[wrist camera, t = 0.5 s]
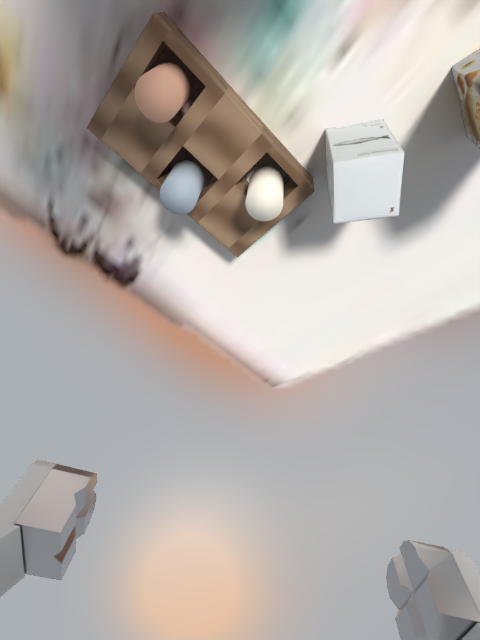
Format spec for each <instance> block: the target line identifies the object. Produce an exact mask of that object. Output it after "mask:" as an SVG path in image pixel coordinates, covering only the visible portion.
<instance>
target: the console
mask: <svg viewBox="0 0 480 640" xmlns="http://www.w3.org/2000/svg"><path fill="white" fill-rule="evenodd" d="M167 45H168V47H169V48H170V49H171V50H172V51H173V52H174V53H175V54H176V55H177V56H178V57H179V58H180V59H181V60H182V62H183V63H184V64H185V65H186V66H187V67H188V68H189V69H190V70H191V71H192V72H193V73H194V74H195V75H196V77H197V78H198V79H199V80H200V81H201V82H202V83H203V84H204V85H205V86H206V87H205V88H204V90H203V91H202V92H201V94H200V95H199V96H198V98H197V99H196V100H195V102H194V103H193V104H192V106H191V107H190V108H189V110H188V111H187V112H186V114H185V115H184V116H183V117H182V116H181V115H180V114H179V113H178V112H177V113H176V114H175V116H174V117H173V118H172V119H171V120H169V121H167V122H164V123H157V122H154V121H151V120H149V119H148V118H146V117H145V116H144V115H143V114H142V112H141V111H140V110H139V108H138V106H137V103H136V100H135V85H136V83H137V81H138V79H139V78H140V77H141V76H142V75H143V74H145V73H146V72H148V71H150V70H151V69H152V68H153V66H154V65H155V63H156V62H157V60H158V59H159V57H160V55H161V54H162V52H163V51H164V49H165V48H166V46H167ZM87 129H89V130H90V131H91V132H92V133H93V134H94V135H96V136H97V137H98V138H99V139H100V140H101V141H103V142H104V143H105V144H106V145H107V146H108V147H110V148H111V149H112V150H113V151H114V152H115V153H117V154H118V155H119V156H120V157H121V158H122V159H124V160H125V161H126V162H127V163H128V164H129V165H131V166H132V167H133V168H134V169H135V170H136V171H138V172H139V173H140V174H141V175H142V176H143V177H145V178H146V179H147V180H148V181H149V182H150V183H152V184H153V185H154V186H155V187H156V188H157V189H159V190H160V188H161V186H162V184H163V183H164V181H165V180H166V178H167V176H168V175H169V173H170V171H169V170H168V169H167V168H166V167H167V165H168V164H169V163H170V162H171V160H172V159H173V158H174V157H175V155H176V154H177V153H178V152H179V150H180V149H181V148H182V147H183V146H184V147H185V148H186V149H187V150H188V151H189V152H190V153H191V154H192V155H193V156H194V157H195V158H196V159H197V160H198V161H199V162H200V163H201V164H202V165H204V166H205V167H206V168H207V169H208V170H209V171H210V172H211V173H212V174H213V175H214V178H213V179H212V180H211V181H210V182H209V183H208V184H207V185H206V186H205V187H204V188H203V190H202V191H201V193H200V196H199V198H198V200H197V203H196V205H195V207H194V209H193V210H192V211H191V212H189V213H187V214H188V215H189V216H190V217H191V218H192V219H194V220H195V221H196V222H197V223H198V224H199V225H201V226H202V227H203V228H204V229H205V230H206V231H208V232H209V233H210V234H211V235H212V236H213V237H215V238H216V239H217V240H218V241H219V242H220V243H222V244H223V245H224V246H225V247H226V248H227V249H229V250H230V251H231V252H232V253H233V254H234V255H236V256H237V257H238V256H239V255H240V254H242V253H243V252H244V251H245V250H246V249H247V248H249V247H250V246H251V245H252V244H253V243H254V242H256V241H257V240H258V239H259V238H260V237H261V236H263V235H264V234H265V233H266V232H267V231H268V230H270V229H271V228H272V227H273V226H274V225H276V224H277V223H278V222H279V221H280V220H281V219H283V218H284V217H285V216H286V215H287V214H288V213H290V212H291V211H292V210H293V209H294V208H295V207H297V206H298V205H299V204H300V203H301V202H302V201H304V200H305V199H306V198H307V197H308V196H309V195H311V194H312V193H313V192H314V185H313V178H312V177H311V176H310V175H309V173H308V172H307V171H306V170H305V169H304V168H303V167H302V166H301V165H300V163H299V162H298V161H297V160H296V159H295V158H294V157H293V156H292V154H291V153H290V152H289V151H288V150H287V149H286V148H285V147H284V146H283V144H282V143H281V142H280V141H279V140H278V139H277V138H276V137H275V136H274V134H273V133H272V132H271V131H270V130H269V129H268V128H267V127H266V126H265V124H264V123H263V122H262V121H261V120H260V119H259V118H258V117H257V116H256V114H255V113H254V112H253V111H252V110H251V109H250V108H249V107H248V106H247V104H246V103H245V102H244V101H243V100H242V99H241V98H240V97H239V95H238V94H237V93H236V92H235V91H234V90H233V89H232V88H231V87H230V85H229V84H228V83H227V82H226V81H225V80H224V79H223V78H222V77H221V75H220V74H219V73H218V72H217V71H216V70H215V69H214V68H213V67H212V65H211V64H210V63H209V62H208V61H207V60H206V59H205V58H204V57H203V55H202V54H201V53H200V52H199V51H198V50H197V49H196V48H195V46H194V45H193V44H192V43H191V42H190V41H189V40H188V39H187V38H186V36H185V35H184V34H183V33H182V32H181V31H180V30H179V29H178V28H177V26H176V25H175V24H174V23H173V22H172V21H171V20H170V19H169V18H168V16H167V15H166V14H165V13H164V12H163V13H158V14H154V15H152V17H151V19H150V20H149V22H148V24H147V25H146V27H145V29H144V31H143V32H142V34H141V36H140V37H139V39H138V41H137V43H136V44H135V46H134V48H133V49H132V51H131V53H130V55H129V56H128V58H127V60H126V61H125V63H124V65H123V67H122V68H121V70H120V72H119V73H118V75H117V77H116V79H115V80H114V82H113V84H112V85H111V87H110V89H109V91H108V92H107V94H106V96H105V97H104V99H103V101H102V103H101V104H100V106H99V108H98V109H97V111H96V113H95V115H94V116H93V118H92V120H91V121H90V123H89V125H88V127H87ZM266 153H268V154H269V155H270V156H271V157H272V158H273V159H274V160H275V161H276V162H277V163H278V164H279V166H280V167H281V168H282V169H283V170H284V171H285V172H286V173H287V174H288V175H289V176H290V177H291V178H292V179H291V180H290V181H289V182H287V183H286V184H285V185H284V192H283V208H282V211H281V213H280V214H279V215H278V216H277V217H276V218H274V219H273V220H270V221H259V220H256V219H254V218H253V217H251V216H250V215H249V213H248V212H247V209H246V205H245V201H246V196H247V191H248V186H249V183H248V182H247V181H246V180H245V179H244V178H243V176H244V175H245V174H246V173H247V172H248V171H249V170H250V169H251V168H252V167H253V166H254V165H255V164H256V163H257V162H258V161H259V160H260V159H261V158H262V157H263V156H264V155H265V154H266Z"/></svg>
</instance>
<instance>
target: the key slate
mask: <svg viewBox="0 0 480 640" xmlns="http://www.w3.org/2000/svg"><path fill="white" fill-rule="evenodd" d="M204 183H205V176H204V173H203V171H202V169H201V168H200V167H199V166H198V165H197V164H196V163H194V162H192V161H187V160H184V161H180V162H178V163H177V164H175V166H174V167H173V168H172V170H171V172H170V173H169V175H168V176H167V178H166V180H165V181H164V183H163V184H162V186H161V188H160V199H161V202H162V204H163V205H164V206H165V207H166V208H167V209H168V210H169V211H171V212H173V213H175V214H187V213H189V212H191V211H192V210H193V209H194V207H195V205H196V203H197V200H198V198H199V196H200V193H201V191H202V189H203V186H204Z"/></svg>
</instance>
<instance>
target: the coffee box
mask: <svg viewBox="0 0 480 640" xmlns="http://www.w3.org/2000/svg"><path fill="white" fill-rule="evenodd" d="M452 72H453V77H454V81H455V86H456V90H457V94H458V99H459V103H460V107H461V112H462V116H463V121H464V125H465V129H466V134H467V137H468V138H469V139H470V140H471V141H472V142H473V143H474V144H475V145H476V146H477V147H479V148H480V49H479V50H477V51H476V52H474V53H472V54H471V55H469V56H468V57H466V58H464V59H463V60H461V61H460V62H458V63H457V64H455V65H454V66H453V67H452Z"/></svg>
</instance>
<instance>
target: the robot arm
mask: <svg viewBox="0 0 480 640" xmlns="http://www.w3.org/2000/svg"><path fill="white" fill-rule="evenodd" d="M96 483H97V474H96V473H92V472H88V471H83V470H80V469H75V468H71V467H67V466H63V465H59V464H55V463H50V462H46V461H41V460H36V461H35V462H34V463H32V464H31V465H30V466H29V468H28V469H27V470H26V472H25V473H24V474H23V476H22V477H21V478H20V480H19V481H18V482H17V484H16V485H15V486H14V488H13V489H12V490H11V492H10V493H9V494H8V496H7V497H6V498H5V499H4V501H3V502H2V504H1V505H0V597H1V596H2V595H3V594H5V593H6V592H7V591H8V590H9V589H11V588H12V587H13V586H14V585H15V584H16V583H17V582H19V581H20V580H21V579H22V578H24V576H25V574H29V575H34V576H40V577H46V578H51V579H57V580H62V578H63V576H64V574H65V572H66V570H67V568H68V566H69V564H70V561H71V560H72V557H73V555H74V553H75V551H76V550H75V549H76V539H77V538H78V537H80V536H81V535H82V534H84V532H85V530H86V528H87V526H88V524H89V522H90V519H91V516H92V513H93V510H94V507H95V502H96V493H95V492H94V491H93V489H94V487H95V485H96ZM400 551H401V554H400V555H398V556H396V557H393V558H392V560H391V561H390V563H389V565H388V569H387V576H386V578H387V587H388V591H389V595H390V599H391V600H392V601H393V603H394V604H395V605H396V607H397V608H398V609H399V611H398V613H397V616H396V623H397V627H398V630H399V634H400V638H401V640H480V575H479V573H478V571H477V569H476V567H475V565H474V563H473V561H472V559H471V558H470V556H469V555H468V554H467V553H465V552H462V551H456V550H452V549H446V548H444V547H440V546H435V545H430V544H425V543H420V542H415V541H410V540H408V541H405V542H403V544H402V545H401V546H400Z"/></svg>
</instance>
